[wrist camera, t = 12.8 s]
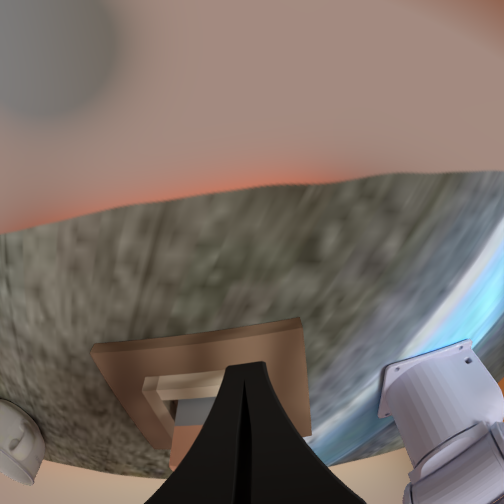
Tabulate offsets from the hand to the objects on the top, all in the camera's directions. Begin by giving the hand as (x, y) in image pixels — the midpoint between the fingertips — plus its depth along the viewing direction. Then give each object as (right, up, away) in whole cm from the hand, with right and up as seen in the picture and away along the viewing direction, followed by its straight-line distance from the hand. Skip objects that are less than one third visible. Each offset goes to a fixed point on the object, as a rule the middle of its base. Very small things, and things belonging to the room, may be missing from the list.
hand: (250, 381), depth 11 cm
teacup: (-28, -15, +17) cm, 36 cm away
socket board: (-3, -7, +14) cm, 16 cm away
